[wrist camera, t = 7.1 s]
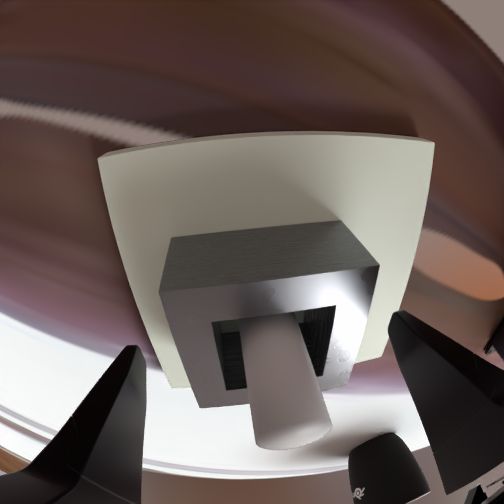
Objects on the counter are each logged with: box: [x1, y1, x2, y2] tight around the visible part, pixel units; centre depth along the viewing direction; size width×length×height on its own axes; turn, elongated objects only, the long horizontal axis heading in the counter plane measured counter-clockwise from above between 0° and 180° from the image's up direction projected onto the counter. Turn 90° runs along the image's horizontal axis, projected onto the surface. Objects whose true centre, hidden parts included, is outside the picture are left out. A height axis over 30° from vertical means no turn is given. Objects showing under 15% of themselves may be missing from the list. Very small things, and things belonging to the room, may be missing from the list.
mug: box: [348, 434, 430, 504], centre depth 24 cm, size 12×9×10 cm
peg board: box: [97, 131, 435, 450], centre depth 9 cm, size 12×12×7 cm
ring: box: [158, 220, 380, 408], centre depth 10 cm, size 6×6×3 cm
